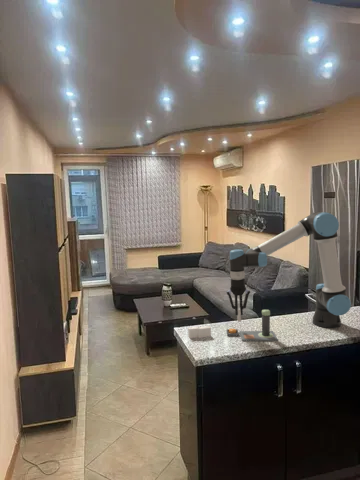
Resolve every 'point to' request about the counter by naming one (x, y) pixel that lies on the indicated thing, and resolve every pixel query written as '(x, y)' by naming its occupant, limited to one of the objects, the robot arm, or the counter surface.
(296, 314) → the counter surface
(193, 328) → the white block piece
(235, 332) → the button
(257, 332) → the board
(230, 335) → the button housing
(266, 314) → the marker
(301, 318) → the counter surface
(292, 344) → the counter surface
